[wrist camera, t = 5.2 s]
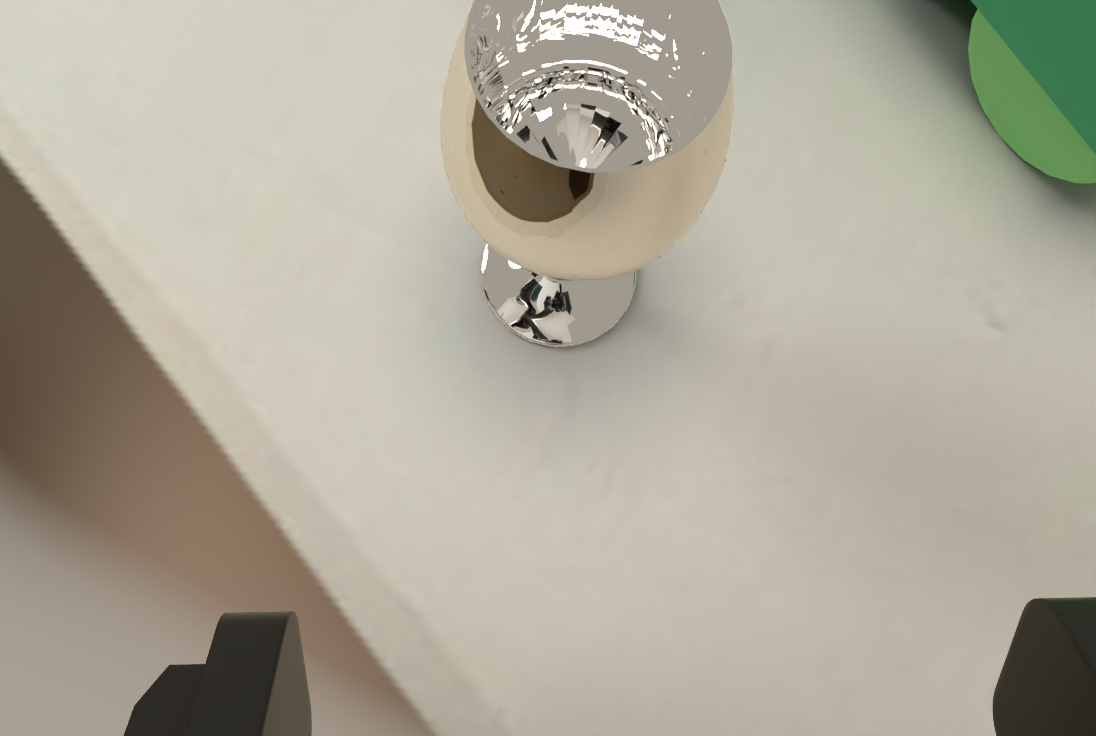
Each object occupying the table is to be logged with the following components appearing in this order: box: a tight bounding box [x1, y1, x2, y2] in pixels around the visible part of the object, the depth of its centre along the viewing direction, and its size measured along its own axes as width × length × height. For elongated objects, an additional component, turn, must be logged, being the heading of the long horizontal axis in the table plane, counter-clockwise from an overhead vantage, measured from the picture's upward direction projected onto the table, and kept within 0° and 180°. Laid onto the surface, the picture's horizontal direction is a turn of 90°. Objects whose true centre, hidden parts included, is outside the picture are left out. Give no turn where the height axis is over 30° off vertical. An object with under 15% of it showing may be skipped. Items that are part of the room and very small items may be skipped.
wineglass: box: [440, 0, 734, 347], centre depth 24 cm, size 6×6×12 cm
